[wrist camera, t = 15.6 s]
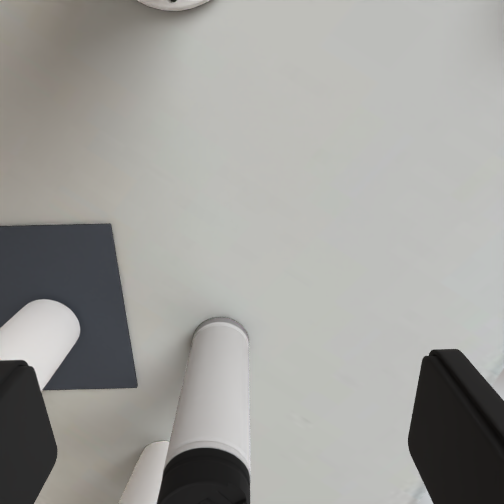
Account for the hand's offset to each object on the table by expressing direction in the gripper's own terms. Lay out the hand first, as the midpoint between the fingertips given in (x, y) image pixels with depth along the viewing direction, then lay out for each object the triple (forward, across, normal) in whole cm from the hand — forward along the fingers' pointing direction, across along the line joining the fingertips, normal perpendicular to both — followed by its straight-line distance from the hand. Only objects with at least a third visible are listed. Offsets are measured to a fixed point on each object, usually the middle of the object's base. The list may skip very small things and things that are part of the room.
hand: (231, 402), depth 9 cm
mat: (+28, +20, +14) cm, 37 cm away
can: (+28, +21, +15) cm, 38 cm away
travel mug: (+28, +3, +18) cm, 34 cm away
